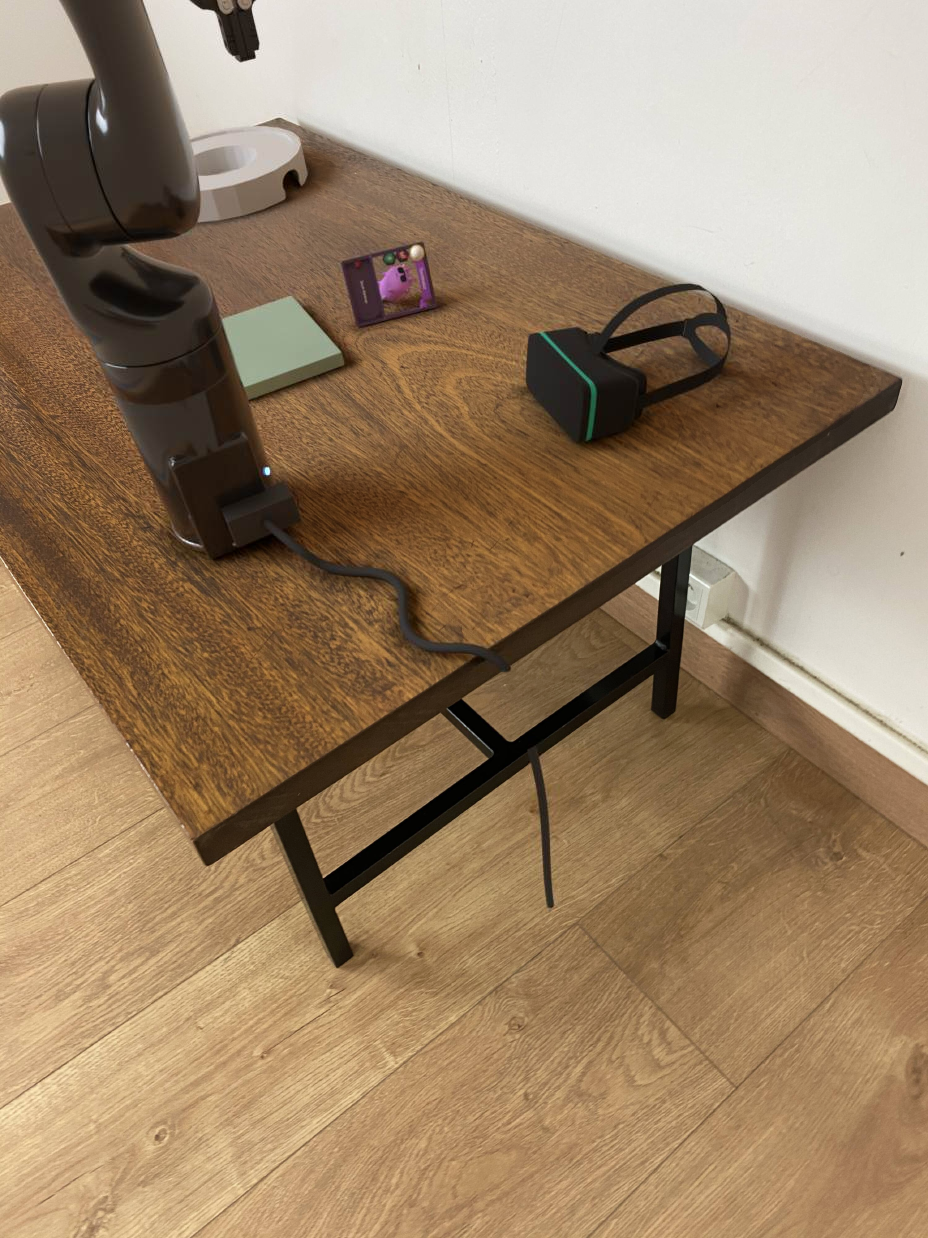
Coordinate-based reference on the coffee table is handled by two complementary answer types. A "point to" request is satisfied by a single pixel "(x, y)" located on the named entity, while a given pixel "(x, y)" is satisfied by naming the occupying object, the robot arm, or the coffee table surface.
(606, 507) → the coffee table surface
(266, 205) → the white notched ring
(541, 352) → the virtual reality headset
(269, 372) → the notebook
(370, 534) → the coffee table surface
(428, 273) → the game card
